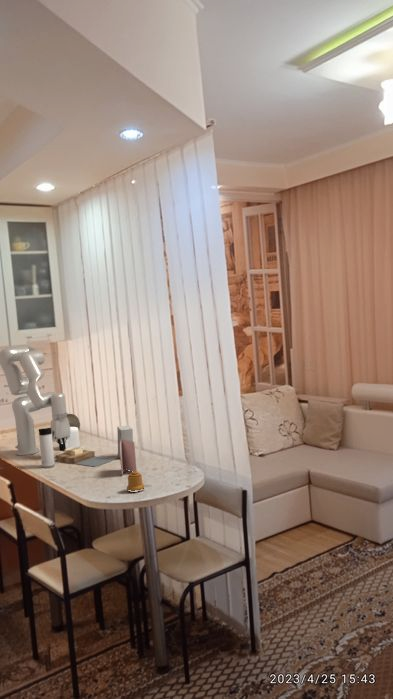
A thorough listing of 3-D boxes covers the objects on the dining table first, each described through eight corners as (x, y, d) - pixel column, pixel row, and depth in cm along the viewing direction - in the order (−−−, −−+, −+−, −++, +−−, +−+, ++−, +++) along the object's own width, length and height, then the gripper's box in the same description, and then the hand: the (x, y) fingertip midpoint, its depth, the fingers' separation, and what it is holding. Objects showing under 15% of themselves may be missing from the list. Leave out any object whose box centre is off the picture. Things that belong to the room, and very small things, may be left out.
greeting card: (121, 469, 279) (119, 438, 278) (137, 468, 279) (134, 437, 278) (120, 476, 268) (117, 444, 266) (136, 475, 268) (134, 443, 267)
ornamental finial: (132, 487, 251) (147, 488, 248) (123, 492, 244) (139, 494, 241) (131, 468, 250) (146, 469, 247) (122, 474, 243) (137, 475, 240)
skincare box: (117, 456, 304) (115, 426, 303) (131, 454, 306) (128, 424, 305) (121, 460, 296) (119, 429, 295) (135, 458, 299) (132, 427, 297)
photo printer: (78, 446, 333) (76, 425, 332) (81, 447, 330) (79, 426, 329) (61, 449, 328) (59, 428, 327) (63, 451, 324) (61, 429, 323)
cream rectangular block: (64, 453, 305) (64, 449, 305) (72, 451, 310) (72, 447, 310) (75, 455, 301) (74, 451, 300) (83, 452, 305) (82, 448, 305)
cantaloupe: (53, 441, 352) (51, 416, 351) (67, 435, 365) (64, 411, 364) (72, 441, 346) (70, 416, 345) (86, 436, 359) (84, 412, 358)
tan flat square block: (56, 461, 303) (55, 455, 303) (76, 454, 315) (75, 449, 314) (74, 464, 295) (74, 458, 295) (94, 457, 306) (94, 451, 306)
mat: (75, 464, 295) (75, 463, 295) (95, 457, 306) (95, 456, 306) (95, 467, 287) (95, 466, 287) (114, 459, 298) (114, 459, 298)
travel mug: (42, 469, 290) (38, 429, 288) (42, 465, 296) (38, 427, 295) (55, 467, 292) (51, 427, 290) (54, 464, 298) (51, 425, 296)
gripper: (65, 413, 317) (68, 446, 318) (43, 419, 305) (46, 453, 306) (75, 414, 313) (78, 447, 314) (53, 419, 301) (56, 454, 302)
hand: (62, 450), depth 310 cm, fingers closed
